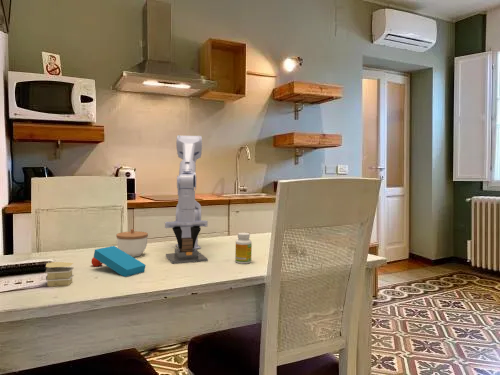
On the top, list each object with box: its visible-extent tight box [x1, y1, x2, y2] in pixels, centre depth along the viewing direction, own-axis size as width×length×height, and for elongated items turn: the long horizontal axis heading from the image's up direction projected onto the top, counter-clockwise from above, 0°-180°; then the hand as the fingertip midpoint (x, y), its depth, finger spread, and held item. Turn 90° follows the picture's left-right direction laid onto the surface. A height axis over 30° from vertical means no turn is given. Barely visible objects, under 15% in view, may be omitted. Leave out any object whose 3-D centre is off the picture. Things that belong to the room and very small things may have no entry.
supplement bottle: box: [234, 232, 253, 265], centre depth 135 cm, size 5×5×10 cm
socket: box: [165, 247, 209, 265], centre depth 139 cm, size 12×12×3 cm
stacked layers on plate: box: [45, 261, 75, 288], centre depth 108 cm, size 10×9×6 cm
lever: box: [91, 245, 146, 278], centre depth 124 cm, size 7×7×19 cm
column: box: [180, 237, 193, 252], centre depth 139 cm, size 4×4×7 cm
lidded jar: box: [116, 228, 149, 258], centre depth 143 cm, size 11×11×9 cm
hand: (186, 247), depth 139 cm, fingers closed on column, 4 cm apart
